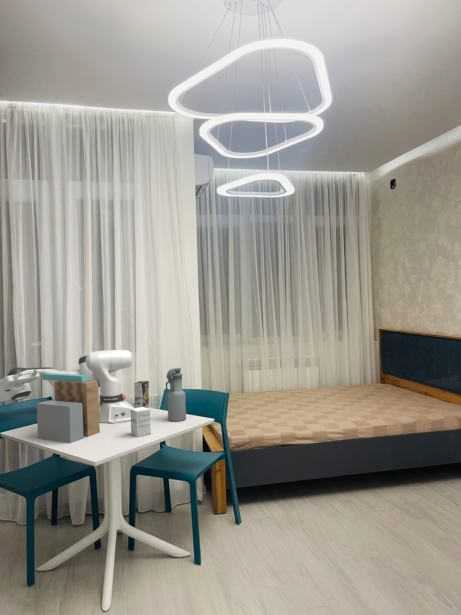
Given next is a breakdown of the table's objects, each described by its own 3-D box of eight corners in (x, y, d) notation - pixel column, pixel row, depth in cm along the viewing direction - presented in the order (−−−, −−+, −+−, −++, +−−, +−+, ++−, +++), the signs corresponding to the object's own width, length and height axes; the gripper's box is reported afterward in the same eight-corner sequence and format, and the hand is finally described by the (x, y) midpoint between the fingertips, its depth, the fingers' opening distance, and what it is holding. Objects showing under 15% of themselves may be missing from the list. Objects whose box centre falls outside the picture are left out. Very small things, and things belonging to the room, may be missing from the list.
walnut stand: (55, 432, 233) (54, 381, 233) (68, 428, 240) (66, 379, 240) (88, 436, 223) (86, 383, 223) (99, 432, 230) (98, 380, 230)
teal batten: (42, 379, 240) (42, 374, 240) (48, 378, 244) (48, 373, 244) (81, 382, 227) (81, 376, 227) (87, 381, 231) (87, 375, 231)
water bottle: (176, 423, 245) (175, 370, 245) (163, 420, 251) (162, 369, 251) (189, 418, 253) (188, 368, 253) (176, 416, 259) (175, 367, 259)
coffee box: (144, 409, 281) (143, 383, 281) (134, 409, 283) (133, 383, 283) (149, 406, 290) (149, 380, 290) (140, 406, 292) (139, 380, 292)
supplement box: (130, 434, 225) (129, 408, 225) (144, 431, 229) (143, 406, 229) (137, 437, 219) (136, 411, 219) (151, 434, 223) (150, 408, 223)
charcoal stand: (37, 438, 224) (36, 403, 224) (51, 433, 231) (50, 400, 231) (70, 443, 213) (69, 406, 213) (83, 438, 220) (82, 403, 221)
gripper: (33, 385, 261) (47, 374, 255) (0, 391, 243) (15, 379, 237) (29, 375, 262) (43, 364, 257) (-4, 381, 244) (10, 369, 239)
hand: (29, 371), depth 247 cm, fingers open, 8 cm apart
